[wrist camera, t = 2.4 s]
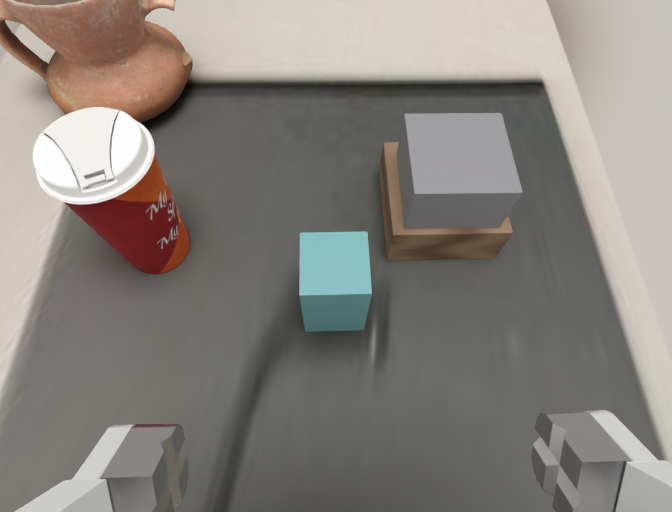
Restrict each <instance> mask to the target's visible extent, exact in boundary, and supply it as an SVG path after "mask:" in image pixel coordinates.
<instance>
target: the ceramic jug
mask: <svg viewBox="0 0 672 512" xmlns="http://www.w3.org/2000/svg"><path fill="white" fill-rule="evenodd" d="M174 3H175V0H0V44H1V45H2V46H3V47H4V48H5V49H6V50H7V51H8V52H9V53H10V54H11V55H12V56H14V57H15V58H16V59H18V60H19V61H20V62H22V63H23V64H24V65H26V66H27V67H29V68H30V69H32V70H34V71H35V72H36V73H38V74H39V75H41V76H42V77H43V78H44V80H45V81H46V82H47V83H48V88H49V92H50V94H51V97H52V99H53V100H54V101H55V103H56V104H57V105H58V106H59V107H60V108H61V109H62V110H63V111H64V112H65V113H66V114H69V113H71V112H74V111H77V110H81V109H85V108H91V107H105V108H111V109H116V110H119V111H123V112H125V113H126V114H128V115H130V116H131V117H132V118H133V119H134V120H136V121H137V122H139V123H142V122H144V121H147V120H149V119H152V118H154V117H156V116H158V115H160V114H161V113H163V112H164V111H166V110H167V109H168V108H169V107H170V106H172V105H173V104H174V102H175V101H176V100H177V99H178V98H179V96H180V95H181V93H182V92H183V90H184V88H185V85H186V83H187V80H188V78H189V75H190V72H191V69H192V65H193V64H192V58H191V57H190V55H189V54H188V53H187V52H185V49H184V47H183V46H182V44H181V43H180V41H179V40H178V39H177V38H176V37H175V36H174V35H173V34H172V33H170V32H169V31H168V30H166V29H165V28H163V27H161V26H159V25H156V24H154V23H151V22H147V21H144V20H145V17H146V15H147V14H149V13H150V12H151V11H152V10H154V9H157V8H167V9H170V10H172V11H174V6H175V5H174ZM5 20H10V21H14V22H18V23H21V24H24V25H25V26H26V27H27V28H28V29H29V30H30V31H31V32H33V33H34V34H35V35H36V36H37V37H39V38H40V39H41V40H42V41H44V42H45V43H46V44H47V45H49V46H50V47H51V48H53V49H54V50H55V53H54V54H53V56H52V58H51V60H50V62H49V64H48V63H46V62H45V61H43V60H42V59H40V58H39V57H38V56H37V55H36V54H34V53H33V52H32V51H31V50H30V49H28V48H27V47H26V46H25V45H24V44H23V43H22V42H21V41H20V40H19V39H18V38H17V37H16V36H15V35H14V34H13V33H12V32H11V30H10V29H9V28H8V26H7V25H6V23H5Z"/></svg>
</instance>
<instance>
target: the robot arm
mask: <svg viewBox="0 0 672 512" xmlns="http://www.w3.org/2000/svg"><path fill="white" fill-rule="evenodd" d="M535 429H536V430H537V432H538V433H539V435H540V436H541V437H540V438H539V439H538V440H537V441H536V442H535V443H534V444H533V449H532V463H533V470H534V473H535V475H536V478H537V480H538V482H539V484H540V486H541V487H542V489H543V490H544V491H546V492H547V493H549V494H550V495H552V496H553V497H554V500H553V508H554V510H555V511H556V512H672V463H670V462H668V461H658V460H657V459H656V458H655V457H654V456H653V455H652V454H651V452H650V451H649V450H648V449H647V448H646V447H645V446H644V445H643V444H642V443H641V442H640V441H639V440H638V439H637V438H636V437H635V436H634V435H633V434H632V433H631V432H630V431H629V430H628V429H627V428H626V427H625V426H624V425H623V424H622V423H621V422H620V421H619V420H618V419H617V418H616V417H615V416H614V415H613V414H612V413H611V412H609V411H607V410H596V411H583V412H568V413H540V414H539V416H538V418H537V421H536V427H535ZM184 440H185V438H184V433H183V427H182V426H181V425H180V424H136V425H113V426H111V427H109V428H108V429H107V430H106V432H105V433H104V435H103V436H102V438H101V439H100V440H99V442H98V443H97V445H96V446H95V448H94V449H93V450H92V452H91V453H90V455H89V456H88V458H87V459H86V460H85V462H84V463H83V465H82V466H81V468H80V469H79V470H78V472H77V473H76V475H75V476H74V478H73V479H72V480H64V481H63V482H61V483H60V484H58V485H56V486H55V487H53V488H52V489H50V490H48V491H47V492H45V493H44V494H42V495H41V496H39V497H37V498H36V499H34V500H33V501H31V502H29V503H28V504H26V505H25V506H23V507H21V508H20V509H18V510H17V511H15V512H174V508H175V507H176V506H177V505H178V504H180V503H181V502H182V500H183V497H184V494H185V491H186V486H187V480H188V459H187V455H186V454H185V453H184V452H183V451H182V450H181V447H182V445H183V442H184Z"/></svg>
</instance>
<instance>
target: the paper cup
mask: <svg viewBox="0 0 672 512" xmlns="http://www.w3.org/2000/svg"><path fill="white" fill-rule="evenodd" d="M43 133H44V134H43ZM43 133H41V134H40V136H39V137H38V139H37V141H36V143H35V146H34V150H33V163H34V166H35V169H36V176H37V179H38V182H39V184H40V186H41V187H42V188H43V190H44V191H45V192H46V193H47V194H49V195H50V196H51V197H53V198H55V199H57V200H59V201H62V202H64V203H65V204H67V205H68V206H69V207H70V208H71V209H72V210H73V211H74V212H75V213H76V214H77V215H78V216H80V217H81V218H82V219H83V220H84V221H85V222H86V223H87V224H88V225H89V226H90V227H91V228H92V229H94V230H95V231H96V232H97V233H98V234H99V235H100V236H101V237H102V238H103V239H104V240H106V241H107V242H108V243H109V244H110V245H111V246H112V247H113V248H114V249H115V250H116V251H118V252H119V253H120V254H121V255H122V256H123V257H124V258H125V259H126V260H128V261H129V262H130V263H131V264H132V265H133V266H135V267H136V268H137V269H139V270H141V271H143V272H145V273H150V274H160V273H165V272H168V271H170V270H172V269H174V268H175V267H177V266H178V265H179V264H181V263H182V261H183V260H184V259H185V258H186V256H187V254H188V252H189V248H190V239H189V235H188V232H187V229H186V227H185V224H184V222H183V220H182V217H181V215H180V212H179V210H178V208H177V205H176V203H175V201H174V198H173V196H172V194H171V191H170V189H169V187H168V184H167V182H166V180H165V178H164V175H163V173H162V171H161V168H160V166H159V164H158V161H157V159H156V157H155V154H154V142H153V139H152V136H151V134H150V133H149V131H148V130H147V129H146V128H145V127H144V126H143V125H142V124H141V123H139V122H137V121H136V120H134V119H133V118H132V117H131V116H130V115H128V114H126V113H125V112H123V111H119V110H116V109H111V108H105V107H91V108H85V109H81V110H77V111H74V112H71V113H69V114H67V115H64V116H62V117H61V118H59V119H57V120H56V121H55V122H53V123H52V124H51V125H50V126H49V127H47V128H46V129H45V130H44V131H43Z"/></svg>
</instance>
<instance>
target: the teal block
mask: <svg viewBox="0 0 672 512" xmlns="http://www.w3.org/2000/svg"><path fill="white" fill-rule="evenodd" d="M371 295H372V289H371V275H370V261H369V247H368V233H367V232H319V233H300V284H299V296H300V302H301V309H302V315H303V321H304V327H305V332H310V331H352V330H364V328H365V323H366V319H367V314H368V309H369V305H370V300H371Z"/></svg>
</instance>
